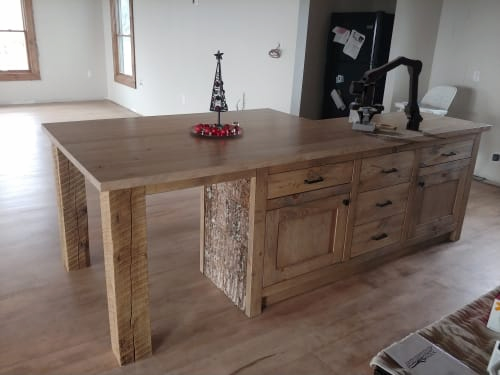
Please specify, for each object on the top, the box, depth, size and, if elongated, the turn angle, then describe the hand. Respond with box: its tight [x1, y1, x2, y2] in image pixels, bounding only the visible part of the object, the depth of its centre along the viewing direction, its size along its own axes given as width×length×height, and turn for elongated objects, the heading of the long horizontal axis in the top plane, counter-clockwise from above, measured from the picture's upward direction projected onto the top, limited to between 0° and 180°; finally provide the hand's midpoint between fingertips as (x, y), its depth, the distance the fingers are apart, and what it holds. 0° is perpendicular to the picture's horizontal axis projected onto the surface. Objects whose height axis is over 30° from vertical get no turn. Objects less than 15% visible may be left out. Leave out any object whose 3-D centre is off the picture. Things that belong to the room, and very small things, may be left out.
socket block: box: [375, 122, 396, 131], centre depth 260 cm, size 10×10×2 cm
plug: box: [360, 112, 370, 125], centre depth 252 cm, size 5×5×7 cm
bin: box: [351, 121, 377, 134], centre depth 253 cm, size 11×11×4 cm
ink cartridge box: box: [348, 101, 369, 124], centre depth 270 cm, size 10×6×14 cm, turn 29°
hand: (364, 122), depth 252 cm, fingers closed on plug, 4 cm apart
